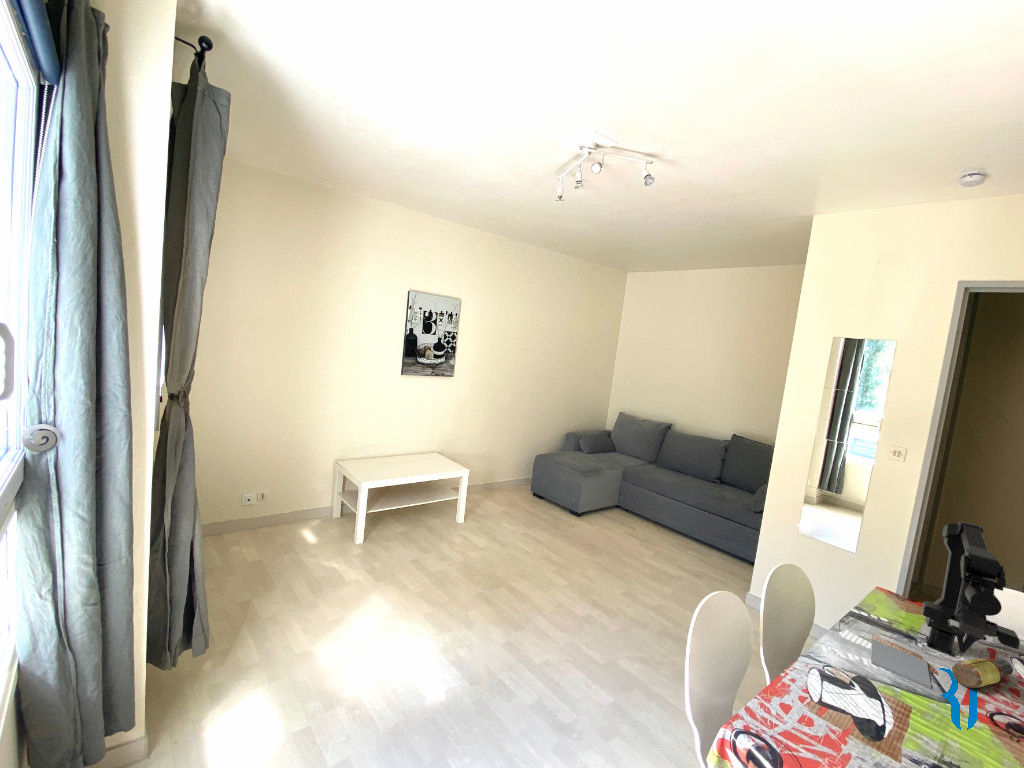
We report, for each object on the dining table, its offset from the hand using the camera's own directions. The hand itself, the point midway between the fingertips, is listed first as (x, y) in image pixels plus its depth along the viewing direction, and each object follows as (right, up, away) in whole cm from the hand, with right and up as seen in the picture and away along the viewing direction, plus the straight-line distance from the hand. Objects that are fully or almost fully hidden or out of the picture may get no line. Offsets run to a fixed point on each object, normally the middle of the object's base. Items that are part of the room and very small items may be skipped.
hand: (961, 651), depth 126 cm
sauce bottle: (+1, -7, +1) cm, 7 cm away
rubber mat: (-11, -8, +8) cm, 16 cm away
